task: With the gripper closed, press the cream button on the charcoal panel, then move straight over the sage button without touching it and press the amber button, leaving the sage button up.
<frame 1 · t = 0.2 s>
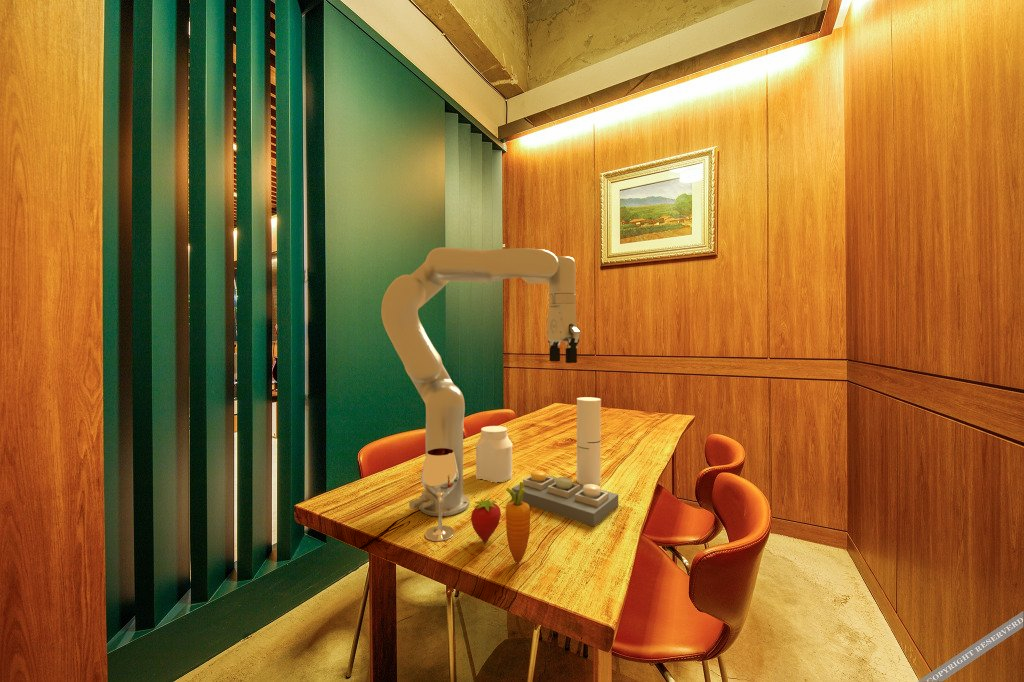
hand: (562, 362, 106), 37 cm above the table, tool pointing down, fingers open, 9 cm apart
carrot: (517, 564, 71), on the table
sage button: (563, 482, 98), point 5 cm above the table, slide at 0.0 cm
button panel: (563, 502, 98), on the table
jar: (494, 477, 118), on the table
cream button: (591, 490, 93), point 5 cm above the table, slide at 0.0 cm
wineglass: (440, 534, 82), on the table
strawberry: (486, 542, 79), on the table
cylindrical container: (588, 481, 114), on the table
amber button: (538, 476, 103), point 5 cm above the table, slide at 0.0 cm
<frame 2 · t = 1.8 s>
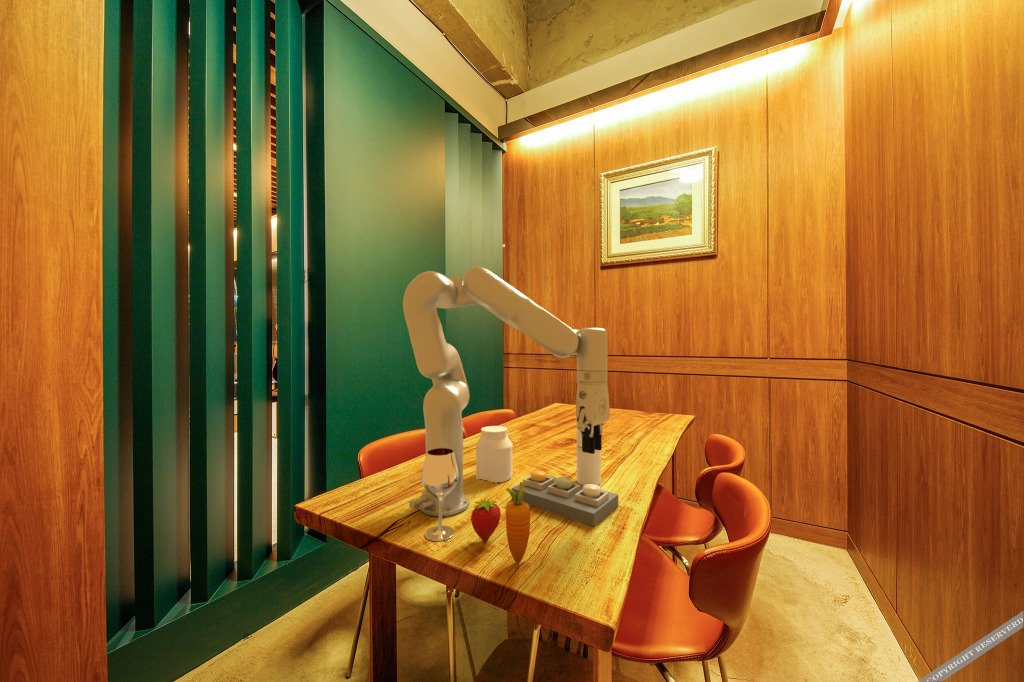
hand: (591, 450, 93), 15 cm above the table, tool pointing down, fingers open, 3 cm apart
nothing on the table moved.
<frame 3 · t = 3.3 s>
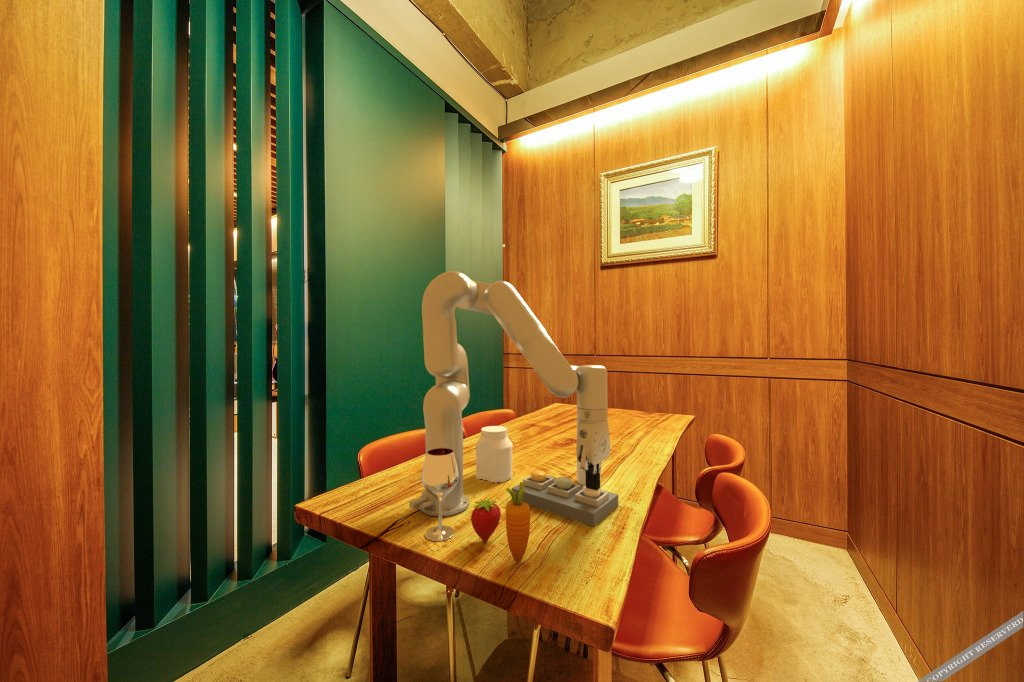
hand: (592, 488, 93), 6 cm above the table, tool pointing down, fingers closed
cream button: (591, 491, 93), point 5 cm above the table, slide at 0.3 cm, touching gripper
everything else where it was.
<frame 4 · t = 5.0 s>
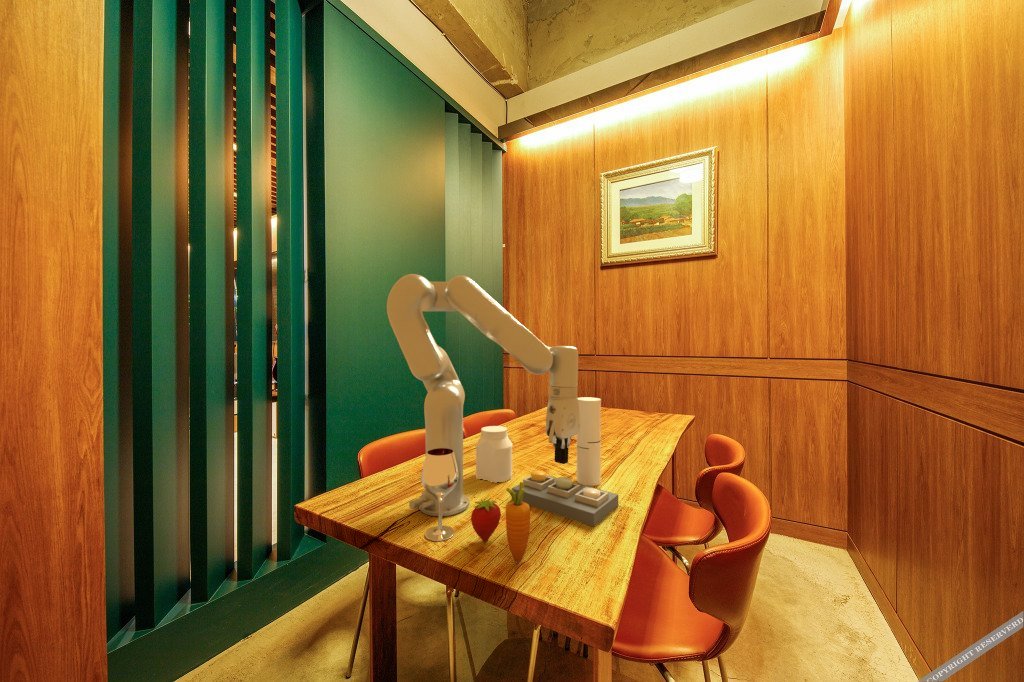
hand: (561, 462, 99), 11 cm above the table, tool pointing down, fingers closed
cream button: (591, 494, 93), point 4 cm above the table, slide at 1.1 cm
everything else where it was.
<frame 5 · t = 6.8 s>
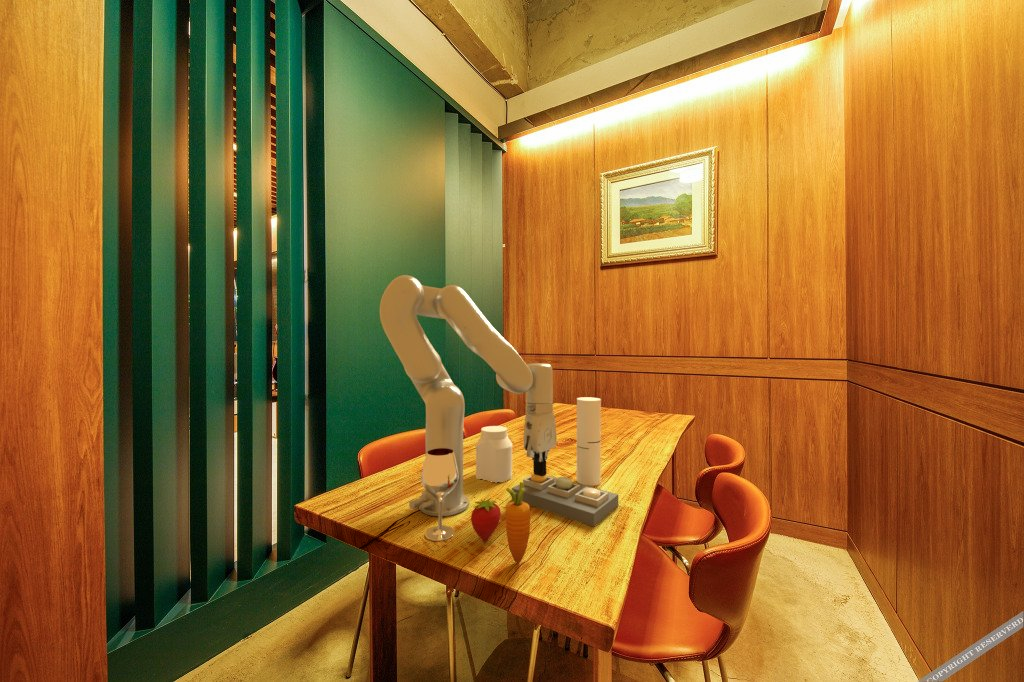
hand: (539, 474, 103), 6 cm above the table, tool pointing down, fingers closed
amber button: (538, 477, 103), point 5 cm above the table, slide at 0.4 cm, touching gripper
everything else where it was.
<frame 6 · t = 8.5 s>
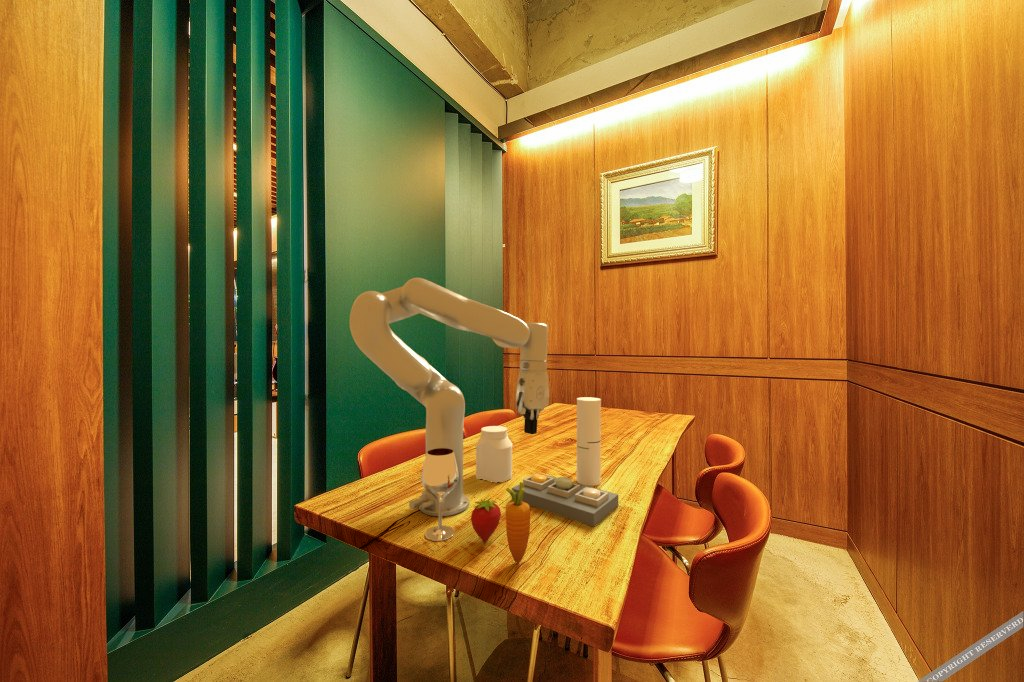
hand: (530, 432, 104), 17 cm above the table, tool pointing down, fingers closed
amber button: (538, 479, 103), point 4 cm above the table, slide at 1.1 cm
everything else where it was.
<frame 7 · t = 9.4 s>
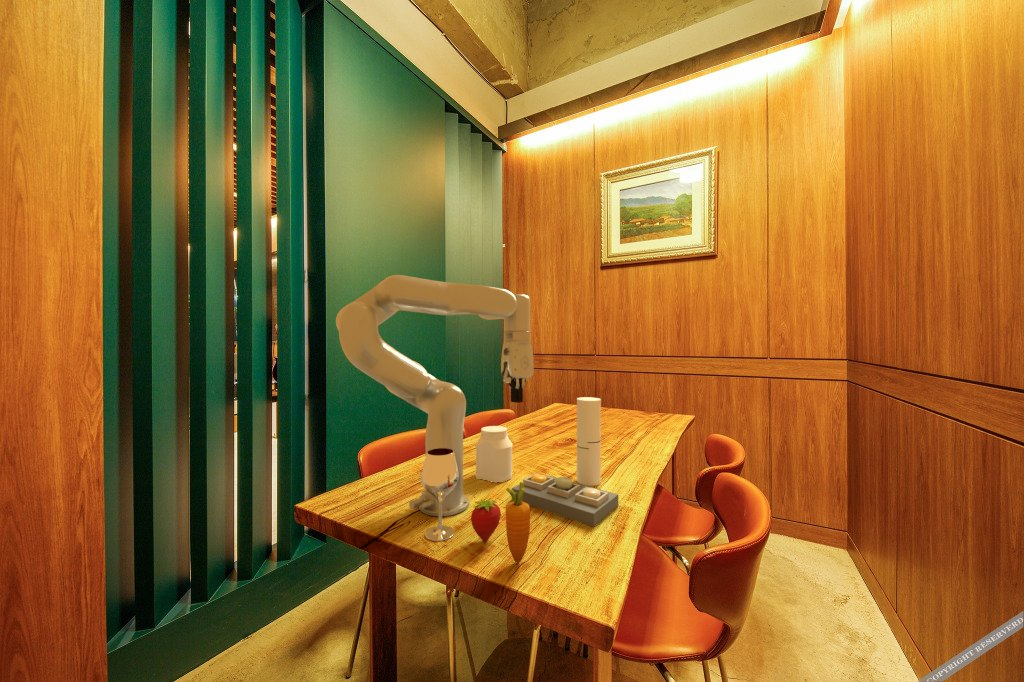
hand: (516, 401, 107), 25 cm above the table, tool pointing down, fingers closed
nothing on the table moved.
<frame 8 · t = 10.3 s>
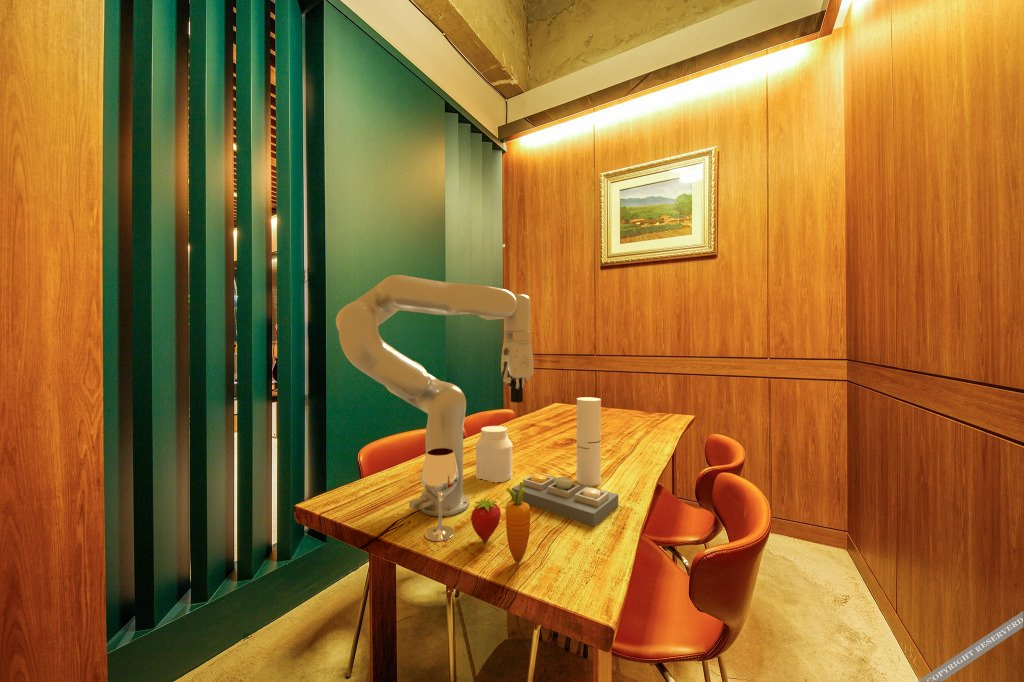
hand: (516, 401, 107), 25 cm above the table, tool pointing down, fingers closed
nothing on the table moved.
at the end: cream button slide at 1.1 cm; amber button slide at 1.1 cm; sage button slide at 0.0 cm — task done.
